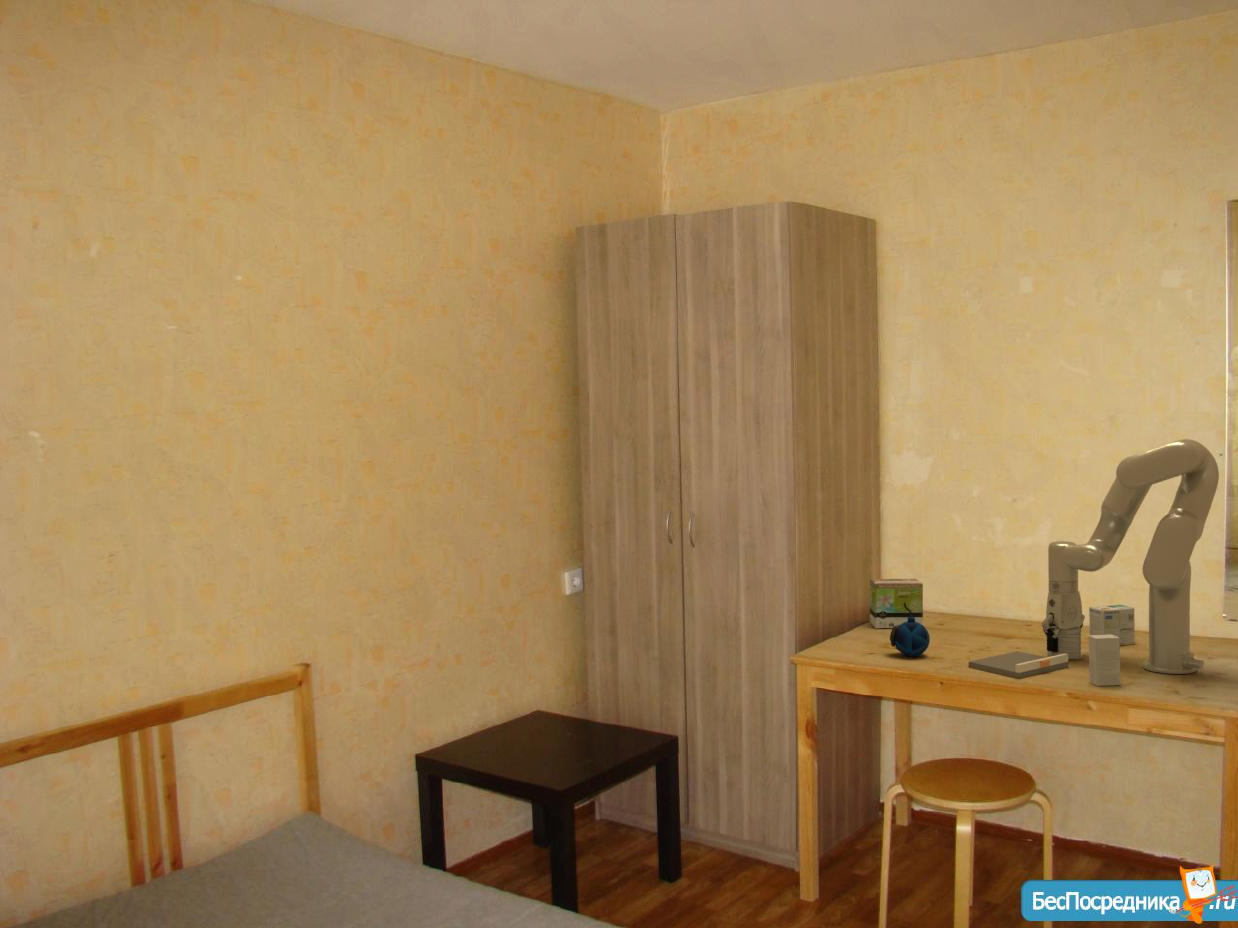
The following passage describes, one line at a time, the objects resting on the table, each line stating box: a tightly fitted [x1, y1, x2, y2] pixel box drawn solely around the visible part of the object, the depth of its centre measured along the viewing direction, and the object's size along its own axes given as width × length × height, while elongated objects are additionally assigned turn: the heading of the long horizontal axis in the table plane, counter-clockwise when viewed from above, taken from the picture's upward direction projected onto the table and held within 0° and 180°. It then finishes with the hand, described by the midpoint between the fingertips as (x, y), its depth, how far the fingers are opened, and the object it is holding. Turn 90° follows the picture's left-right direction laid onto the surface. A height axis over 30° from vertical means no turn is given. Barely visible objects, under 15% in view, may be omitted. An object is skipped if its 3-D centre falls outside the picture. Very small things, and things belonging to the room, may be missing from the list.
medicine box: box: [1046, 627, 1082, 660], centre depth 297 cm, size 8×4×9 cm, turn 83°
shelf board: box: [968, 651, 1069, 679], centre depth 288 cm, size 17×20×4 cm
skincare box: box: [1088, 634, 1121, 687], centre depth 269 cm, size 6×4×12 cm
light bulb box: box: [1088, 603, 1136, 646], centre depth 313 cm, size 11×7×11 cm, turn 105°
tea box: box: [869, 578, 924, 630], centre depth 347 cm, size 15×10×15 cm, turn 88°
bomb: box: [889, 603, 931, 657], centre depth 305 cm, size 10×11×15 cm
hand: (1063, 648), depth 297 cm, fingers closed on medicine box, 9 cm apart
